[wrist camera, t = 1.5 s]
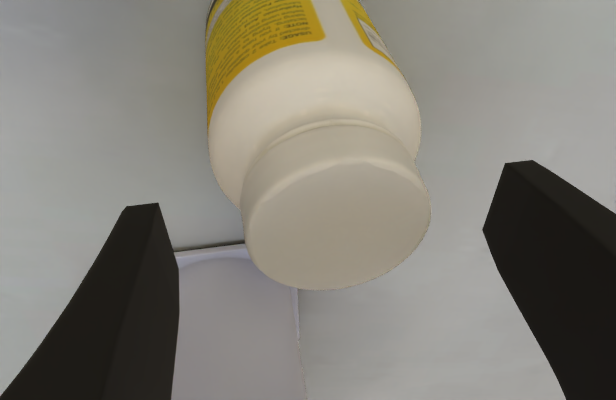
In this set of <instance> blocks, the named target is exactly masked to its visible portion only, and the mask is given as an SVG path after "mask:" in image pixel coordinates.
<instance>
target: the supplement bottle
mask: <svg viewBox="0 0 616 400" xmlns="http://www.w3.org/2000/svg"><path fill="white" fill-rule="evenodd" d="M205 50H206V52H205V54H206V85H207V126H208V149H209V156H210V162H211V166H212V170H213V173H214V175H215V178H216V180H217V182H218V184H219V186H220V188H221V189H222V191H223V192H224V193H225V195H226V196H227V197H228V198H229V199H230V201H231V202H232V203H233V204H234V205H235V206H236V207H238V208H239V209H240V210H241V216H242V221H243V229H244V238H245V245H246V248H247V251H248V254H249V256H250V258H251V260H252V261H253V263H254V264H255V265H256V267H257V268H258V269H259V270H260V271H262V272H263V273H264V274H265V275H266V276H268V277H269V278H271V279H273V280H275V281H277V282H279V283H281V284H284V285H287V286H290V287H294V288H300V289H307V290H334V289H340V288H347V287H351V286H355V285H359V284H361V283H364V282H367V281H370V280H372V279H375V278H377V277H379V276H381V275H383V274H385V273H387V272H389V271H390V270H392V269H393V268H395V267H396V266H397V265H399V264H400V263H401V262H403V261H404V260H405V259H406V258H407V257H408V256H409V255H410V254H411V253H412V252H413V251H414V250H415V249H416V248H417V246H418V245H419V243H420V242H421V241H422V239H423V237H424V235H425V234H426V232H427V229H428V226H429V223H430V219H431V202H430V197H429V194H428V191H427V189H426V187H425V184H424V182H423V180H422V178H421V176H420V174H419V171H418V169H417V167H416V165H415V163H414V161H415V159H416V156H417V153H418V149H419V145H420V140H421V120H420V114H419V110H418V105H417V103H416V100H415V97H414V95H413V93H412V91H411V89H410V87H409V85H408V83H407V82H406V80H405V78H404V76H403V75H402V73H401V71H400V70H399V68H398V66H397V65H396V63H395V61H394V60H393V58H392V56H391V54H390V53H389V51H388V49H387V47H386V46H385V44H384V43H383V41H382V39H381V38H380V36H379V34H378V32H377V31H376V29H375V27H374V26H373V24H372V22H371V20H370V19H369V17H368V15H367V14H366V12H365V10H364V8H363V7H362V5H361V3H360V2H359V0H212V2H211V5H210V8H209V11H208V15H207V21H206V38H205Z"/></svg>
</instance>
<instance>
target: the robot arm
mask: <svg viewBox="0 0 616 400" xmlns="http://www.w3.org/2000/svg"><path fill="white" fill-rule="evenodd" d="M482 230H483V233H484V235H485V238H486V241H487V244H488V246H489V249H490V252H491V254H492V257H493V259H494V262H495V264H496V266H497V269H498V271H499V273H500V275H501V277H502V279H503V281H504V282H505V284H506V286H507V288H508V290H509V292H510V293H511V295H512V297H513V299H514V301H515V302H516V304H517V306H518V308H519V310H520V311H521V313H522V315H523V317H524V318H525V320H526V322H527V324H528V326H529V327H530V329H531V331H532V333H533V335H534V336H535V338H536V340H537V342H538V343H539V345H540V347H541V349H542V351H543V352H544V354H545V356H546V358H547V359H548V361H549V363H550V365H551V367H552V369H553V371H554V373H555V375H556V377H557V379H558V381H559V384H560V386H561V388H562V391H563V393H564V395H565V398H566V400H616V214H615V213H613V212H612V211H610V210H609V209H607V208H606V207H604V206H603V205H601V204H600V203H598V202H597V201H595V200H594V199H592V198H591V197H589V196H588V195H586V194H585V193H583V192H582V191H580V190H579V189H577V188H576V187H574V186H573V185H571V184H570V183H568V182H567V181H565V180H563V179H562V178H560V177H559V176H557V175H556V174H554V173H553V172H551V171H550V170H548V169H546V168H545V167H543V166H541V165H540V164H538V163H536V162H535V161H533V160H529V161H520V162H512V163H505V165H504V168H503V171H502V174H501V177H500V180H499V183H498V186H497V189H496V191H495V194H494V197H493V200H492V203H491V206H490V209H489V212H488V215H487V218H486V221H485V224H484V227H483V229H482ZM299 340H300V333H299V312H298V290H297V288H294V287H290V286H287V285H284V284H281V283H279V282H277V281H275V280H273V279H271V278H269V277H268V276H266V275H265V274H264V273H263V272H262V271H260V270H259V269H258V268H257V267H256V265H255V264H254V263H253V261H252V260H251V258H250V256H249V254H248V251H247V248H246V245H245V244H237V245H229V246H221V247H213V248H205V249H197V250H189V251H181V252H173V248H172V245H171V242H170V239H169V236H168V232H167V229H166V226H165V223H164V220H163V216H162V213H161V210H160V207H159V203H152V204H143V205H134V206H127V207H126V208H125V209H124V210H123V211H122V213H121V215H120V216H119V218H118V220H117V222H116V224H115V226H114V228H113V230H112V231H111V233H110V235H109V237H108V239H107V240H106V242H105V244H104V246H103V248H102V249H101V251H100V253H99V255H98V256H97V258H96V260H95V261H94V263H93V265H92V267H91V268H90V270H89V271H88V273H87V275H86V276H85V278H84V279H83V281H82V283H81V284H80V286H79V288H78V289H77V291H76V292H75V294H74V296H73V297H72V299H71V300H70V302H69V303H68V305H67V307H66V308H65V309H64V311H63V312H62V314H61V315H60V317H59V318H58V320H57V321H56V323H55V324H54V325H53V327H52V328H51V330H50V331H49V333H48V334H47V336H46V337H45V338H44V340H43V341H42V343H41V344H40V346H39V347H38V348H37V350H36V351H35V352H34V354H33V355H32V356H31V358H30V359H29V360H28V362H27V363H26V365H25V366H24V367H23V368H22V370H21V371H20V372H19V374H18V375H17V376H16V377H15V379H14V380H13V381H12V382H11V384H10V385H9V386H8V387H7V389H6V390H5V391H4V392H3V394H2V395H1V396H0V400H308V399H307V393H306V387H305V381H304V374H303V368H302V362H301V355H300V349H299V343H298V341H299Z"/></svg>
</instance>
